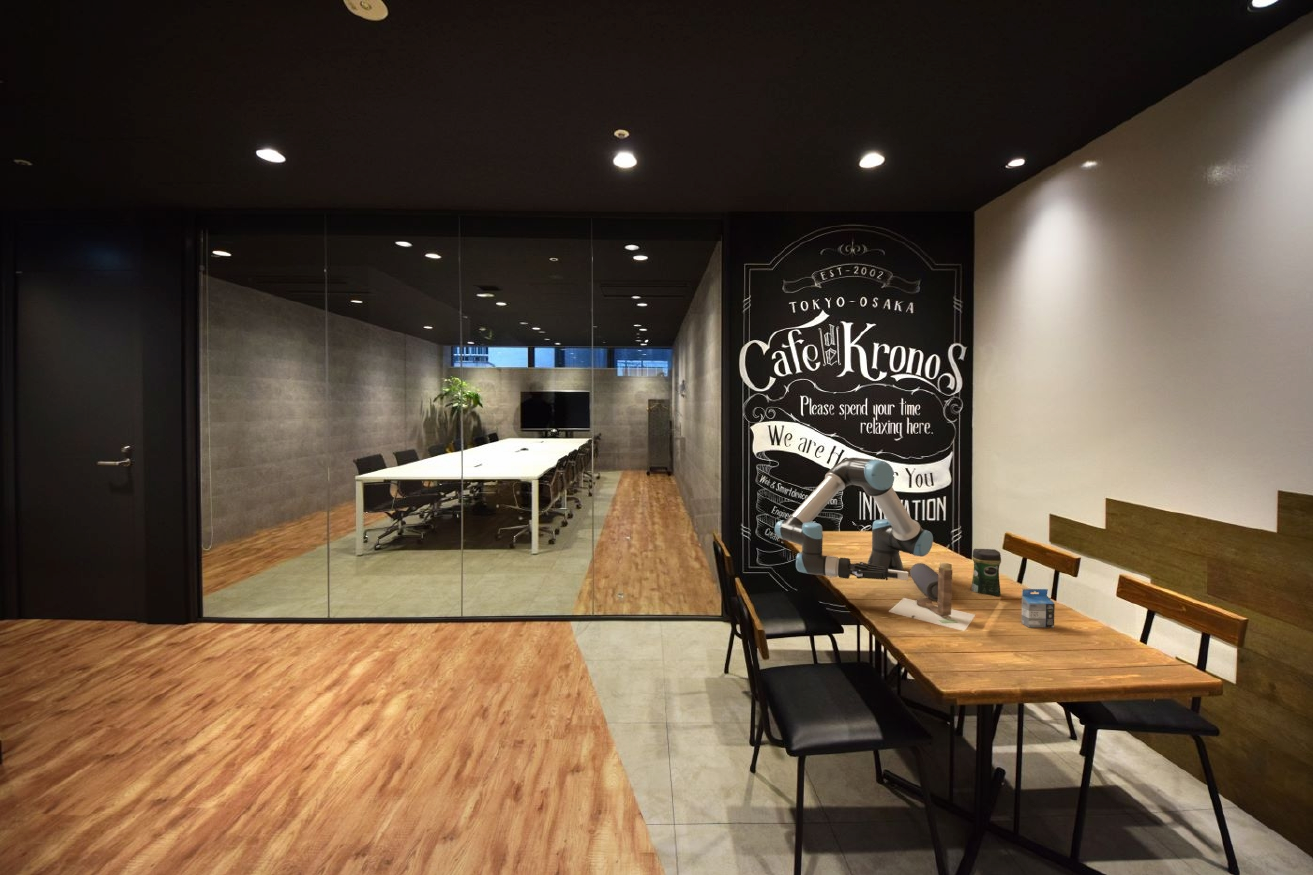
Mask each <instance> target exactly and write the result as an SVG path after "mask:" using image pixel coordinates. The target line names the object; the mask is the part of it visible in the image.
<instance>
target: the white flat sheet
mask: <svg viewBox="0 0 1313 875" xmlns="http://www.w3.org/2000/svg"><path fill="white" fill-rule="evenodd" d="M934 605H935V606H936V607H937V604H934ZM888 613H891V614H895V615H900V616H903V617H907V618H911V619H916V620H919V621H922V622H927V623H931V624H935V625H939V626H942V627H946V628H948V629H949V628H950V629H954V630H958V631H962V632H965V631H966V630H967V628H968V627H969V625H970V624H971V623H972V621H973V619H974V618H975V617H976V614H975V613H969V612H965V611H961V610H957V609H953V608H951V615H949V616H950V617H951V619H948V618H947V617H946V616H941V615H939V614H937V613H936V612H934V611H933V610H931V609H929V608H926V607H921V606H918V605H917V600H915V599H910V598H905V597H903V598H902V599H901V600H900V601H899V602H897V603H896V604H895V605H894V606H893V607H892V608H891V609H889V610H888Z"/></svg>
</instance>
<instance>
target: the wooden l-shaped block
mask: <svg viewBox="0 0 1313 875" xmlns="http://www.w3.org/2000/svg"><path fill="white" fill-rule="evenodd" d="M952 590H953V569H952V563H949V562H940V563H939V567H938V601H937V604H933V600H931V599H930V598H928V597H923V596H922V597H921V596H920V597H919V596H918V597H917V598H916V601H917V605H918V606H921V607H926V608H929V609H931V610H933V611H934V612H936V613H937V614H939V615H941V616H946V617H947V618H948V619H951V617H950V616H949V615H951V609H952V593H953V592H952ZM935 605H936V606H937V607H936V606H935Z"/></svg>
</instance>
